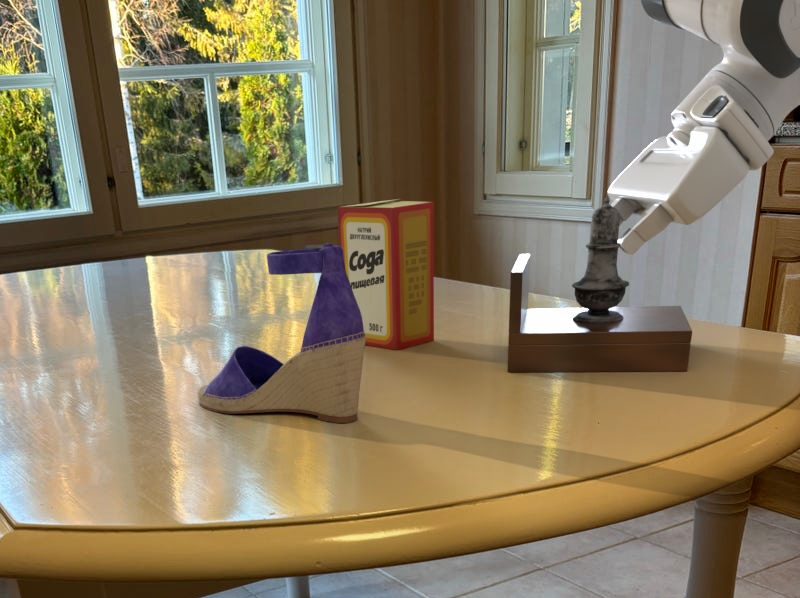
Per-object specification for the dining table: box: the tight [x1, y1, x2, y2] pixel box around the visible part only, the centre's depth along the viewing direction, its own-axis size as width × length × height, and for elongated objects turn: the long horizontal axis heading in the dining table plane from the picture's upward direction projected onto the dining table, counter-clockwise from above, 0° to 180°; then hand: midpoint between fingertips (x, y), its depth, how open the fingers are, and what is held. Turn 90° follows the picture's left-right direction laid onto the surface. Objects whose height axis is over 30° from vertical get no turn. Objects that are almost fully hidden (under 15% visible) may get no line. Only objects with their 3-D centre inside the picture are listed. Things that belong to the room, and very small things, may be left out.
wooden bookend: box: [507, 253, 693, 373], centre depth 100 cm, size 18×14×10 cm
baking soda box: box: [336, 198, 435, 351], centre depth 113 cm, size 10×6×16 cm
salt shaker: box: [571, 195, 630, 323], centre depth 98 cm, size 6×6×12 cm
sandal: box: [197, 242, 366, 424], centre depth 87 cm, size 8×20×15 cm, turn 44°
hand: (608, 245), depth 96 cm, fingers open, 8 cm apart
